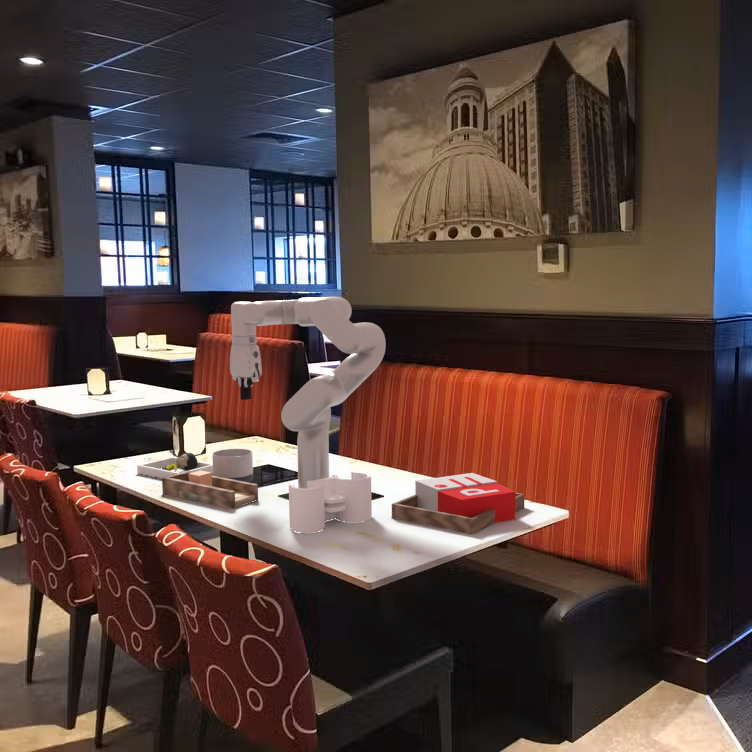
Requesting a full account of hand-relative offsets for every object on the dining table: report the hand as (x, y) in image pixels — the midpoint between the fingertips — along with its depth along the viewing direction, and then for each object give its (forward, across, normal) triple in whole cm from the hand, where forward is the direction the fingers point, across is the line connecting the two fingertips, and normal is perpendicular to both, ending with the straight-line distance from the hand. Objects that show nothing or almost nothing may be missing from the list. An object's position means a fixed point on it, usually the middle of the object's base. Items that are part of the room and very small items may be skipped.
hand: (246, 399), depth 260 cm
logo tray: (+29, -69, -15) cm, 76 cm away
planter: (+29, +9, -2) cm, 31 cm away
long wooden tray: (+29, +4, +14) cm, 32 cm away
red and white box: (+30, -71, -16) cm, 78 cm away
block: (+27, +7, +14) cm, 31 cm away
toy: (+29, +36, -1) cm, 46 cm away
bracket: (+30, -45, +13) cm, 55 cm away
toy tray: (+29, +36, -1) cm, 46 cm away
